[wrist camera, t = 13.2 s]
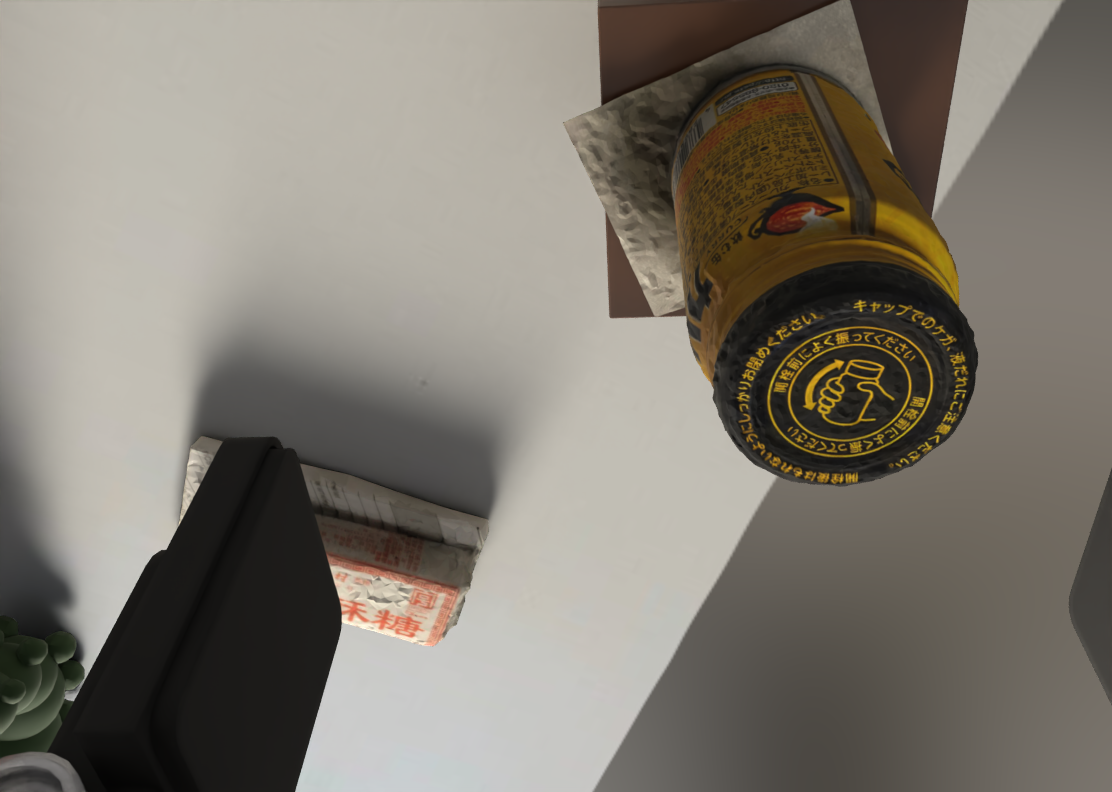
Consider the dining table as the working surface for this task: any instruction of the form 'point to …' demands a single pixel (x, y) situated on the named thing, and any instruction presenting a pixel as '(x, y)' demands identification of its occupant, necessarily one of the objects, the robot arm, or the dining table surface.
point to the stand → (758, 7)
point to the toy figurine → (34, 687)
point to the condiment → (790, 251)
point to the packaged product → (382, 550)
